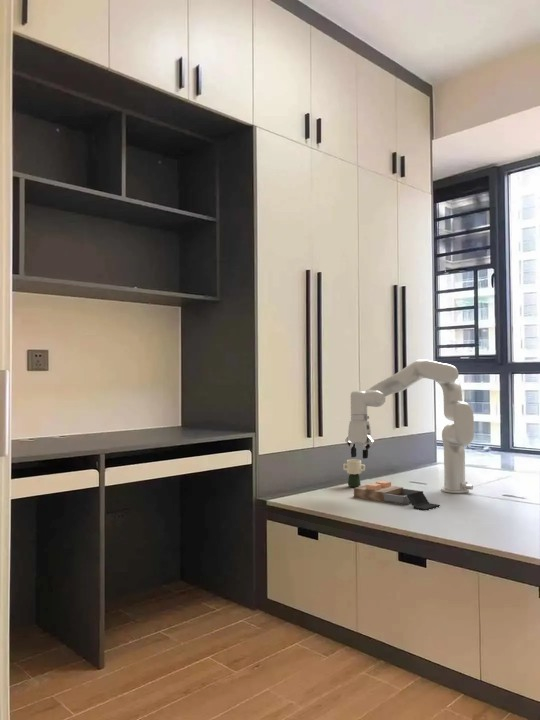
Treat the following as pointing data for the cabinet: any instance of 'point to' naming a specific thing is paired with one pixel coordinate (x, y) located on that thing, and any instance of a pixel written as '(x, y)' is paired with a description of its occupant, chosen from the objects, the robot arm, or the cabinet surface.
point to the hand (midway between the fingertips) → (359, 457)
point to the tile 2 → (384, 484)
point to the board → (376, 492)
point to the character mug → (354, 472)
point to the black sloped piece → (420, 501)
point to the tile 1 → (373, 486)
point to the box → (400, 497)
